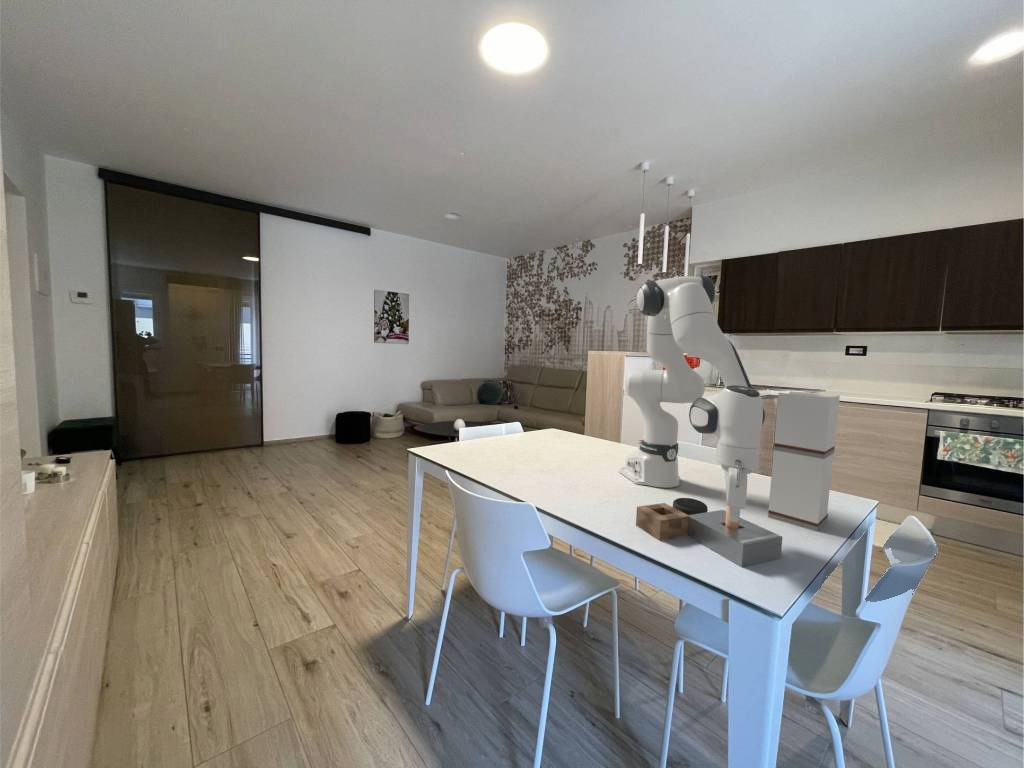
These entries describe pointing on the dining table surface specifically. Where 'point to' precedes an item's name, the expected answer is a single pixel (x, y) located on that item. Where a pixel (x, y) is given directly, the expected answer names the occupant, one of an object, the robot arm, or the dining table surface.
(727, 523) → the pin
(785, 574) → the dining table surface
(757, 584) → the dining table surface
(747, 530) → the dock
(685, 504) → the smart speaker
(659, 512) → the mount
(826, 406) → the white tall box
